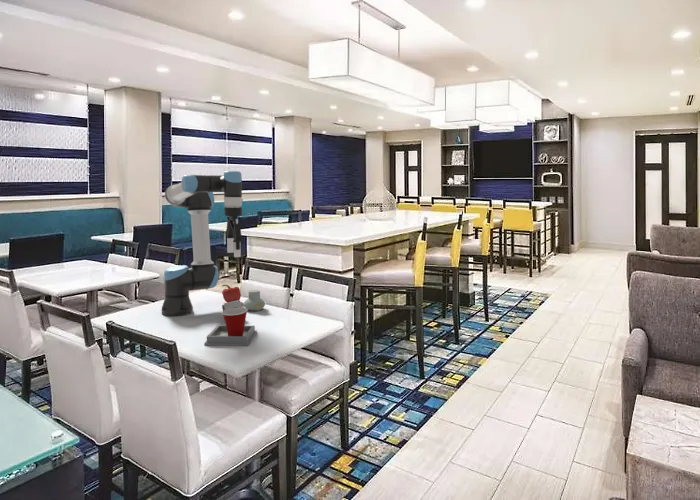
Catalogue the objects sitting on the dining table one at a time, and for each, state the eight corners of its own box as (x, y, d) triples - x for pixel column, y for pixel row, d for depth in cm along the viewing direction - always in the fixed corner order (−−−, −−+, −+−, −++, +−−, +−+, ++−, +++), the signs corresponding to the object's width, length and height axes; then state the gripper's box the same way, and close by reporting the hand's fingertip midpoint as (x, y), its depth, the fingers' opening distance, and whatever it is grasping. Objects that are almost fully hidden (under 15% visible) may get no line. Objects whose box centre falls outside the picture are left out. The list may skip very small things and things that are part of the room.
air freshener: (258, 306, 266) (258, 288, 265) (267, 309, 261) (267, 290, 259) (241, 310, 259) (240, 291, 257) (250, 313, 253) (250, 293, 252)
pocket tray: (216, 332, 220) (216, 324, 220) (256, 332, 220) (256, 325, 220) (204, 345, 202) (204, 337, 202) (248, 346, 202) (248, 337, 202)
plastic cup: (223, 333, 214) (223, 306, 212) (249, 333, 215) (248, 306, 214) (219, 341, 203) (219, 313, 202) (246, 341, 204) (246, 313, 203)
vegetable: (217, 304, 270) (217, 286, 269) (227, 299, 280) (226, 282, 279) (235, 305, 267) (235, 287, 266) (244, 301, 277) (244, 283, 276)
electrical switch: (228, 323, 235) (226, 303, 234) (221, 322, 238) (220, 302, 237) (243, 319, 242) (242, 300, 241) (237, 318, 245) (235, 299, 245)
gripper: (248, 208, 207) (249, 258, 210) (235, 205, 229) (235, 250, 232) (230, 208, 204) (231, 259, 207) (218, 205, 226) (219, 251, 229)
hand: (233, 254), depth 219 cm, fingers open, 13 cm apart
